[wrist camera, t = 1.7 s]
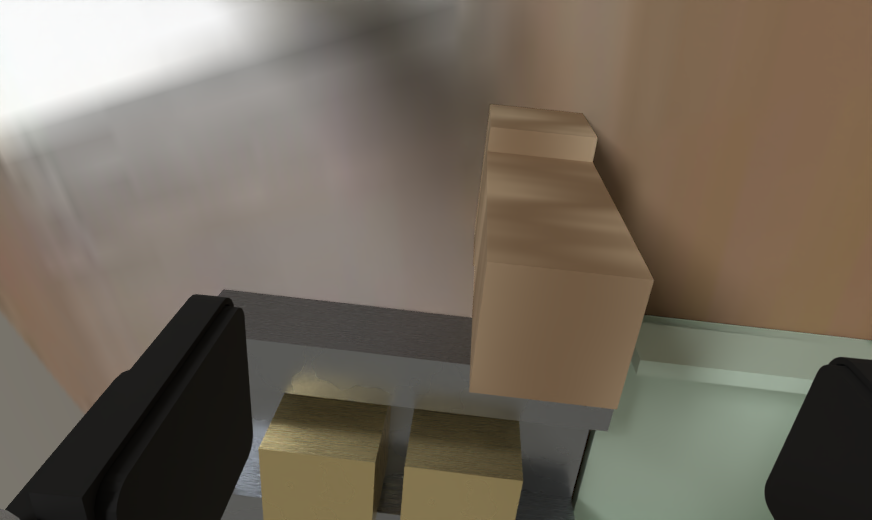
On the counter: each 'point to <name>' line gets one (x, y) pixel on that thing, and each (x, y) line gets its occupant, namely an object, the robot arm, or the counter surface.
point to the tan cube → (324, 459)
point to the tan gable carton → (551, 266)
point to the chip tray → (701, 421)
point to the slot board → (397, 392)
